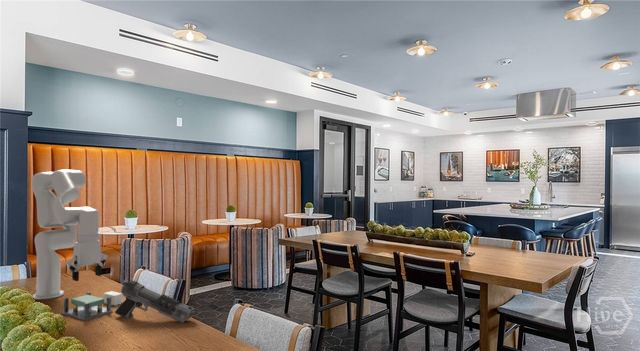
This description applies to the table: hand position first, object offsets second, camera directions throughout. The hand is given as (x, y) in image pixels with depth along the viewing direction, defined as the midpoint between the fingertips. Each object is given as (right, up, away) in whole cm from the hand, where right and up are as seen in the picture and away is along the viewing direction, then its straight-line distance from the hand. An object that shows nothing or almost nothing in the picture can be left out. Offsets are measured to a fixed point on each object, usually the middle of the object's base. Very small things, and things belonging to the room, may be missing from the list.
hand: (87, 277), depth 170 cm
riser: (+4, -15, +13) cm, 20 cm away
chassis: (0, -15, -1) cm, 15 cm away
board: (0, -11, 0) cm, 11 cm away
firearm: (+32, -15, -7) cm, 36 cm away
